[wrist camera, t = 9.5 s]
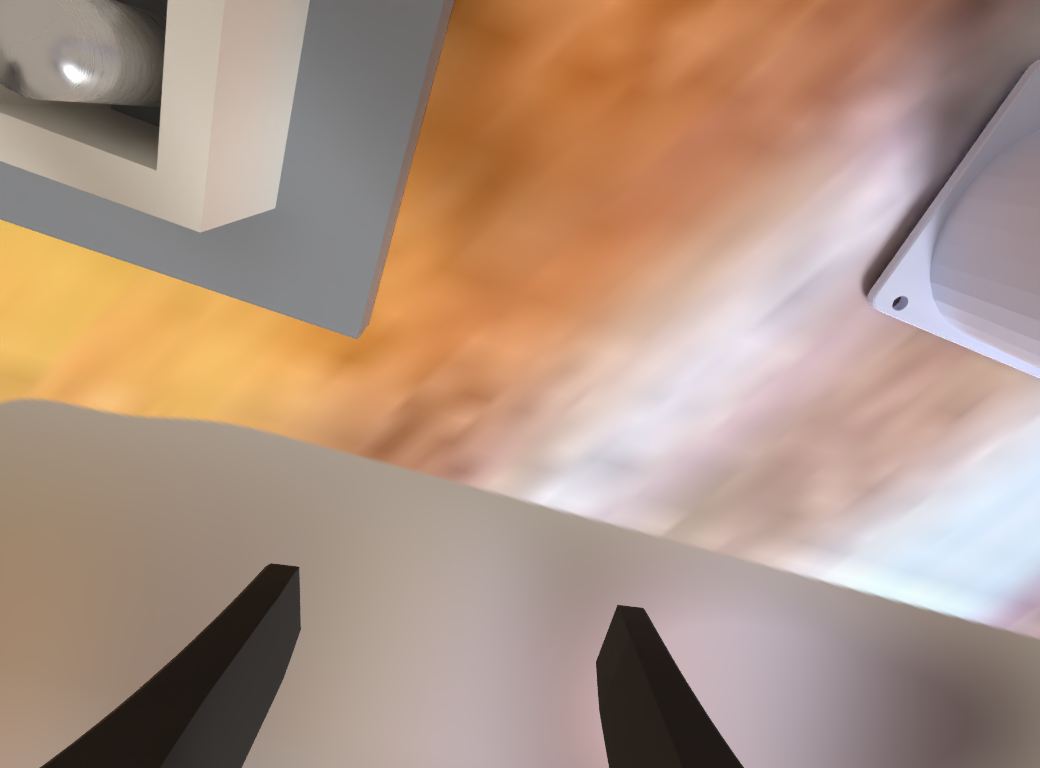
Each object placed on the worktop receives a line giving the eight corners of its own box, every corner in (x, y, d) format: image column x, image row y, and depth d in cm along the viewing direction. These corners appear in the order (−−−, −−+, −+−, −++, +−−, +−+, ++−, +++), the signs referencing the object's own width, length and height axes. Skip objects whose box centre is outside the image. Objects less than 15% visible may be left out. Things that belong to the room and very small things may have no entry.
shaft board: (476, -82, 13) (445, -245, 7) (368, 323, 18) (300, 414, 12) (-140, -387, 11) (-881, -973, 5) (-69, 174, 16) (-405, 199, 10)
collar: (311, -10, 13) (231, -65, 9) (275, 208, 15) (200, 232, 11) (70, -119, 12) (-125, -228, 8) (71, 131, 14) (-81, 132, 11)
